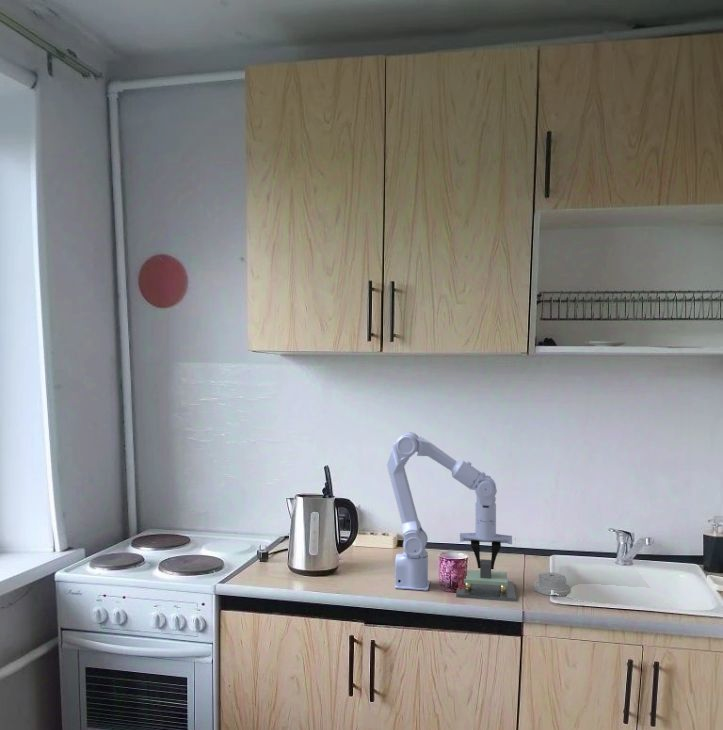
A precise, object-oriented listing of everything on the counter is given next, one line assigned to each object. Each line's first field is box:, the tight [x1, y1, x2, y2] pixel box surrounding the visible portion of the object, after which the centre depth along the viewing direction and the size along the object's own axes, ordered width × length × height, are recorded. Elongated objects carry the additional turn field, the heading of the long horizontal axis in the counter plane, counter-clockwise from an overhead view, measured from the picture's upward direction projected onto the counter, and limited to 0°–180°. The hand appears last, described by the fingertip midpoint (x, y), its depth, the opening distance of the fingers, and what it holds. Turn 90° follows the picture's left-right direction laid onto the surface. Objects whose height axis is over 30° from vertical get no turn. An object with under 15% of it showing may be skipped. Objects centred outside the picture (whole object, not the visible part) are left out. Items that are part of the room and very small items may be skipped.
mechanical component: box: [533, 571, 572, 597], centre depth 175 cm, size 10×4×10 cm
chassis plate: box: [455, 581, 517, 602], centre depth 175 cm, size 16×14×3 cm
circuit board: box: [464, 558, 509, 586], centre depth 175 cm, size 12×8×5 cm, turn 79°
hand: (485, 567), depth 175 cm, fingers closed on circuit board, 3 cm apart
